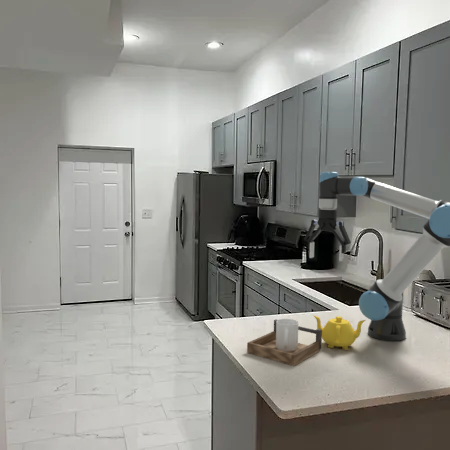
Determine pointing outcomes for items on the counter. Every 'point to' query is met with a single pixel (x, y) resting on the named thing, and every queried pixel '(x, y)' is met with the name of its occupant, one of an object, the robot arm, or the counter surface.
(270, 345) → the wooden serving tray
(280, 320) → the mug
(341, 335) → the teapot
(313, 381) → the counter surface
